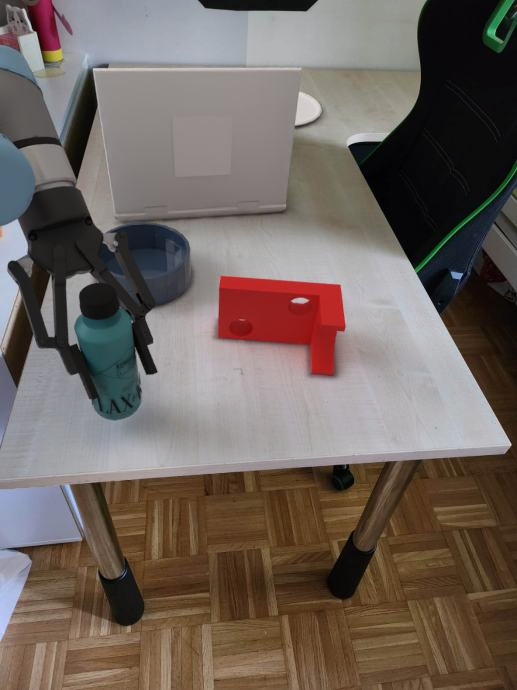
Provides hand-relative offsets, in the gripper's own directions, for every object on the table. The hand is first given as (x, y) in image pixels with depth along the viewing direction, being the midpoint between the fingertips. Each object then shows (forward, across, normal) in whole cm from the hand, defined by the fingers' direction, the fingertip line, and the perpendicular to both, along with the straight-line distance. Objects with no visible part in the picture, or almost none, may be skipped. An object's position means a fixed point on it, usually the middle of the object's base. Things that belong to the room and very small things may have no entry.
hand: (123, 385), depth 60 cm
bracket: (+5, -26, -10) cm, 28 cm away
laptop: (-30, -40, -45) cm, 67 cm away
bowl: (-14, -16, -28) cm, 35 cm away
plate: (-50, -81, -65) cm, 115 cm away
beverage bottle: (+4, 0, -9) cm, 9 cm away
